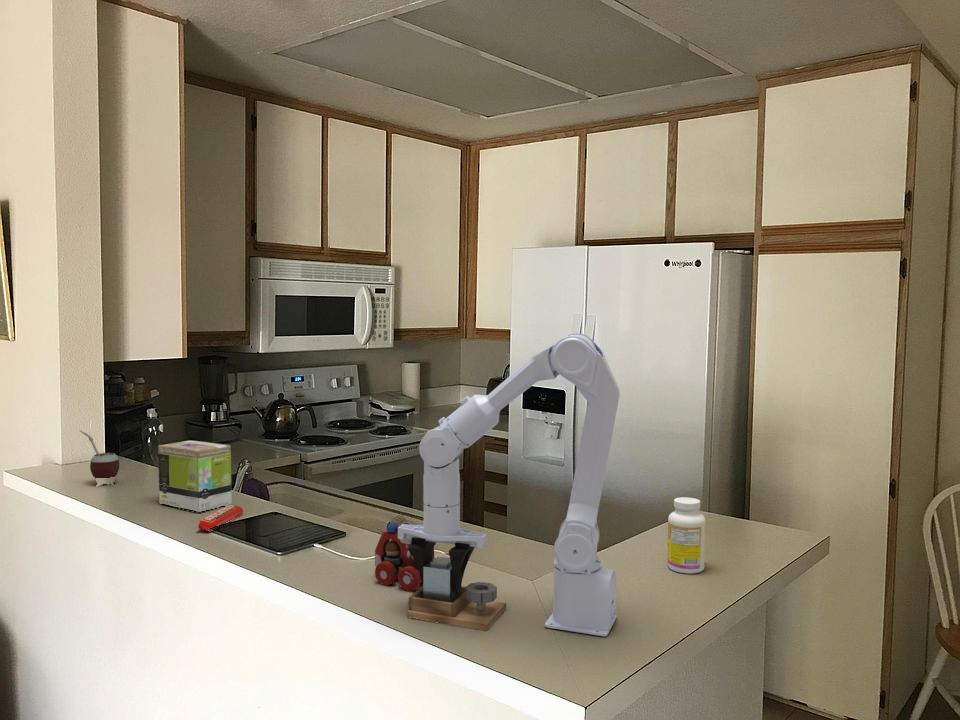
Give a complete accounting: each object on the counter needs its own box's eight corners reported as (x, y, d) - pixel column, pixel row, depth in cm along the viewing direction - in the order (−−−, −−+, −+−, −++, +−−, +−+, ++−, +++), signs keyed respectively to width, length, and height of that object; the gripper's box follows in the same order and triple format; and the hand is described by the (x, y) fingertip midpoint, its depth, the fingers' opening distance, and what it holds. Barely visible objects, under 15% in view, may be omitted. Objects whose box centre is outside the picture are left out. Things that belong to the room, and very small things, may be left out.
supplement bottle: (679, 560, 148) (681, 493, 147) (711, 568, 143) (713, 500, 142) (660, 568, 143) (661, 500, 142) (692, 577, 139) (694, 506, 138)
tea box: (233, 505, 187) (232, 444, 186) (198, 514, 179) (196, 451, 178) (193, 496, 195) (191, 438, 194) (157, 505, 187) (156, 444, 186)
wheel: (500, 594, 122) (500, 584, 122) (490, 605, 118) (490, 594, 118) (472, 590, 124) (472, 580, 124) (461, 600, 119) (461, 590, 119)
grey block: (460, 598, 125) (460, 557, 124) (449, 608, 121) (449, 566, 120) (435, 594, 126) (435, 554, 126) (423, 604, 122) (423, 562, 122)
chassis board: (506, 608, 124) (506, 585, 124) (486, 630, 116) (486, 605, 116) (430, 597, 129) (431, 574, 129) (406, 617, 120) (406, 593, 120)
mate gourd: (125, 482, 210) (124, 427, 209) (102, 489, 202) (100, 432, 201) (104, 480, 212) (103, 425, 211) (80, 486, 205) (78, 430, 204)
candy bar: (211, 535, 164) (210, 521, 163) (195, 534, 164) (194, 520, 164) (246, 514, 179) (245, 502, 179) (231, 514, 180) (230, 501, 180)
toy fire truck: (390, 570, 142) (389, 514, 141) (446, 583, 136) (446, 524, 135) (365, 581, 136) (365, 523, 136) (422, 595, 130) (422, 534, 129)
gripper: (493, 501, 123) (493, 584, 124) (411, 493, 128) (411, 573, 129) (477, 512, 117) (477, 600, 118) (391, 503, 122) (391, 587, 123)
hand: (441, 587), depth 123 cm, fingers closed on grey block, 4 cm apart
